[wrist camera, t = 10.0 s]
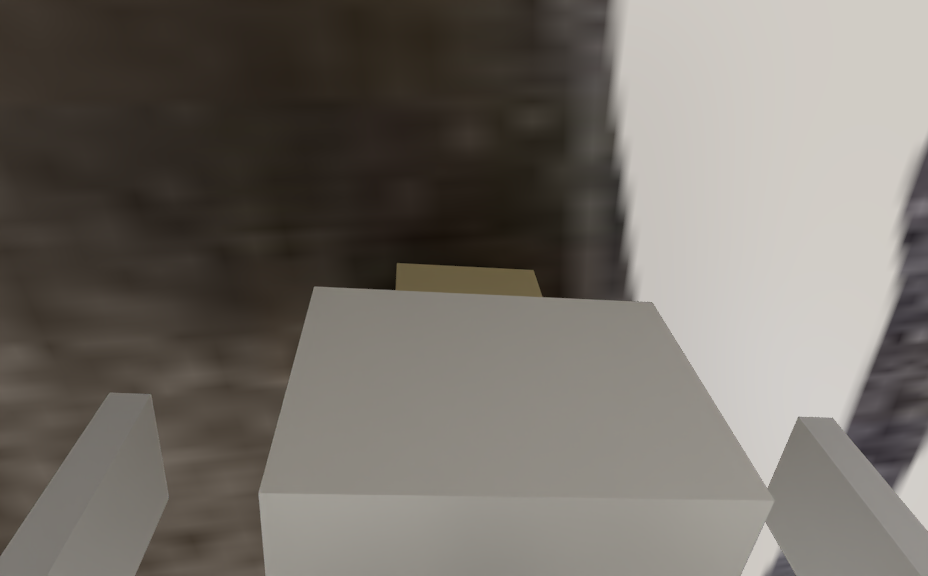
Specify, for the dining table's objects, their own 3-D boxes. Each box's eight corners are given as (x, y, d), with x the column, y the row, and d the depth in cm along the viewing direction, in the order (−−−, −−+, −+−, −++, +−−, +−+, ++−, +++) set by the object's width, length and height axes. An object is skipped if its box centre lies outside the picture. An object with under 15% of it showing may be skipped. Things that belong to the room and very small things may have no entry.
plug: (336, 204, 16) (172, 814, 5) (601, 219, 16) (951, 786, 6) (337, 414, 19) (237, 1061, 8) (558, 420, 19) (732, 1026, 9)
